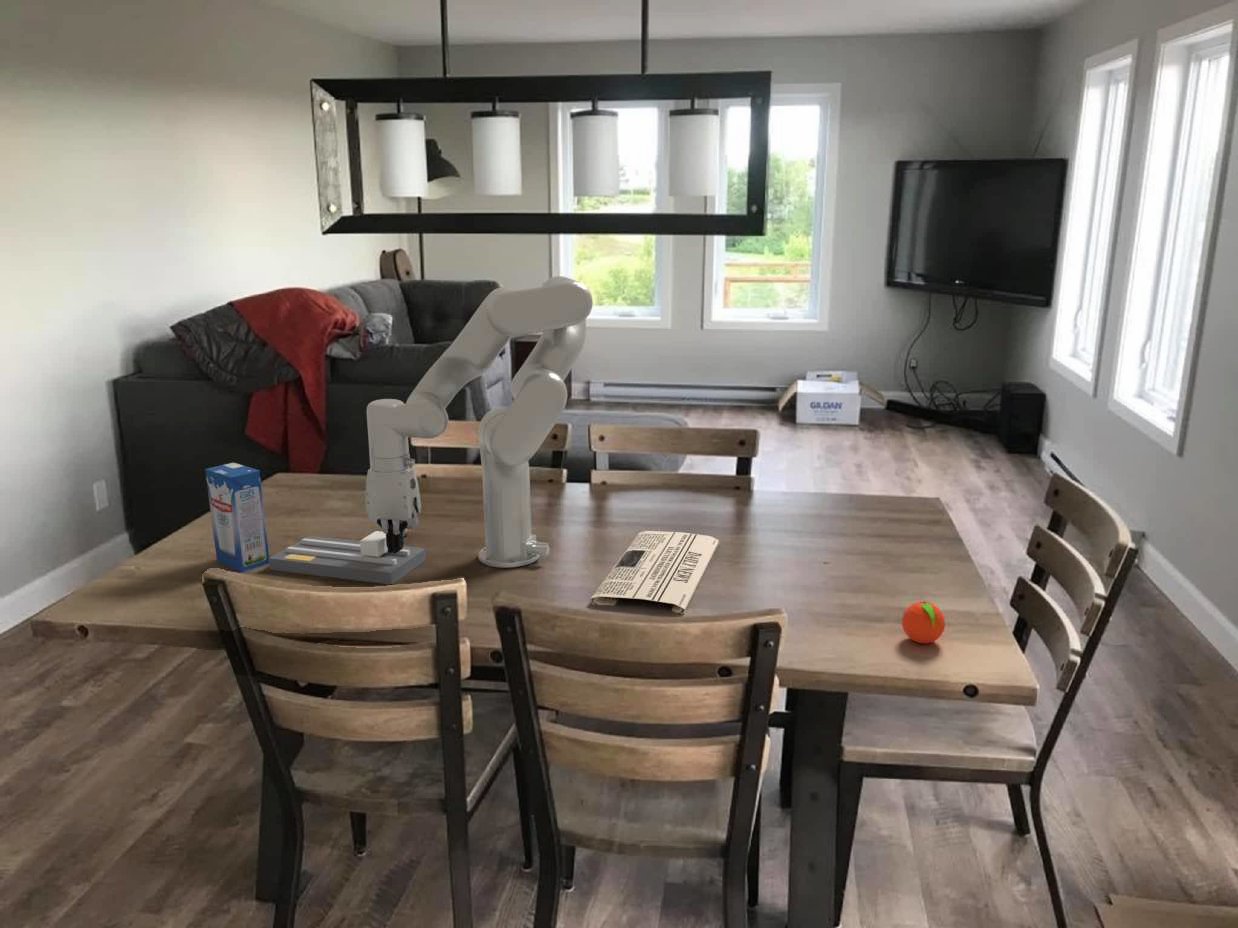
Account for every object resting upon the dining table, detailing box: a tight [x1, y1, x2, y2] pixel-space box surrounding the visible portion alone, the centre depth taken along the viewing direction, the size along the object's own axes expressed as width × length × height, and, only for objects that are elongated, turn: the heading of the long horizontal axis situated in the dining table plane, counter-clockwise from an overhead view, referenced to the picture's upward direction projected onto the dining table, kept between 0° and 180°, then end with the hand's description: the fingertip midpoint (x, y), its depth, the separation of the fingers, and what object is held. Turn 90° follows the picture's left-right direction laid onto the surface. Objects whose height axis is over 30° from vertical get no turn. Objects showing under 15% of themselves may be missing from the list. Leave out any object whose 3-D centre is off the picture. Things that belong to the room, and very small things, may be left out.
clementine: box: [901, 601, 946, 644], centre depth 165 cm, size 8×7×7 cm
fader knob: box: [359, 530, 388, 557], centre depth 200 cm, size 4×6×4 cm, turn 162°
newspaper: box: [590, 530, 720, 615], centre depth 197 cm, size 37×19×3 cm, turn 165°
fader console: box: [268, 535, 427, 585], centre depth 203 cm, size 28×14×3 cm, turn 72°
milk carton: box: [204, 462, 270, 573], centre depth 202 cm, size 10×6×20 cm, turn 50°
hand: (395, 550), depth 198 cm, fingers closed
